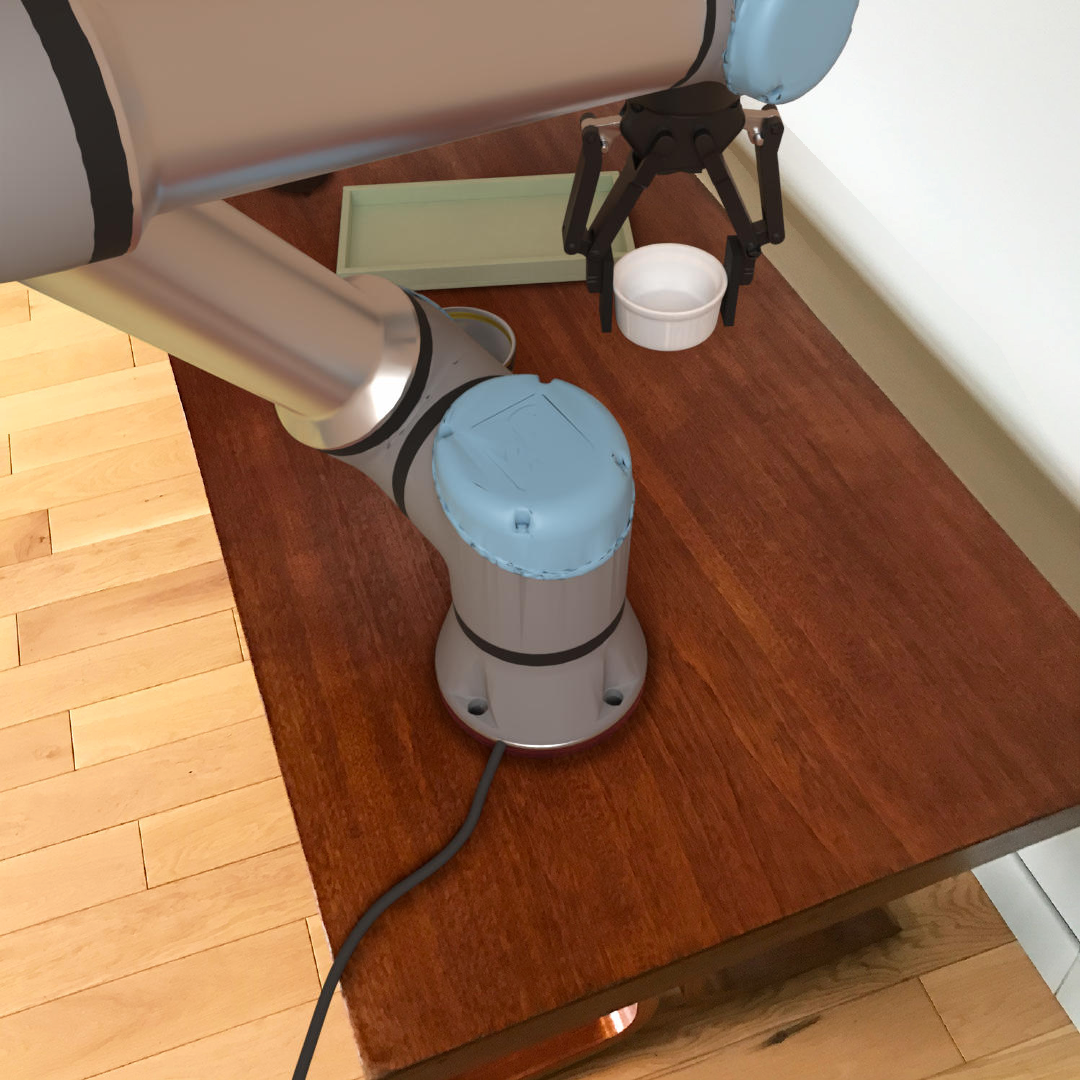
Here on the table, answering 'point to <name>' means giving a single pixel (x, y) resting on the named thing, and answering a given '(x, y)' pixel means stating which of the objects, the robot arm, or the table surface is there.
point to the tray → (467, 231)
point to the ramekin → (668, 295)
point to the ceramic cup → (487, 332)
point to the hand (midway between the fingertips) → (665, 318)
